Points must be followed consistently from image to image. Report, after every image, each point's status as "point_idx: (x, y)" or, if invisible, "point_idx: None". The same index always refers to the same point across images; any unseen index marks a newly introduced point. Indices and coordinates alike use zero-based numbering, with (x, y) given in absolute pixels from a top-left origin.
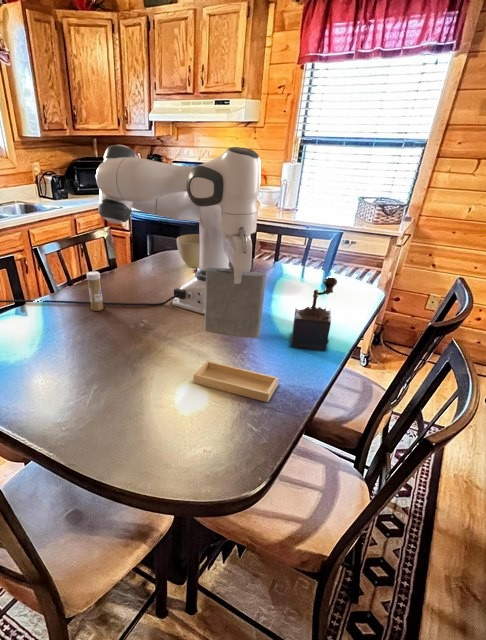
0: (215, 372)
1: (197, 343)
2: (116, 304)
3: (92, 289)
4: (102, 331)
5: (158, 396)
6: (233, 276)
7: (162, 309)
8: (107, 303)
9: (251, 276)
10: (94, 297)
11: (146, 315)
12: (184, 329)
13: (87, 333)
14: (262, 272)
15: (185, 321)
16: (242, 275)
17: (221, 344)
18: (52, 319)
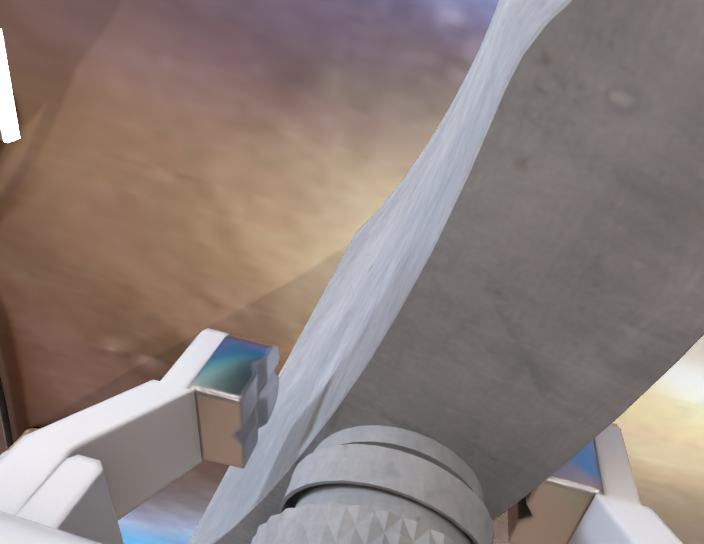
0: None
1: (315, 222)
2: (3, 394)
3: None
4: (199, 463)
5: (679, 449)
6: (510, 527)
7: (3, 266)
8: (5, 416)
9: (674, 342)
10: None
11: (67, 330)
12: (180, 236)
13: (212, 494)
14: (578, 16)
15: (103, 211)
16: (563, 455)
17: (340, 118)
18: (128, 534)
